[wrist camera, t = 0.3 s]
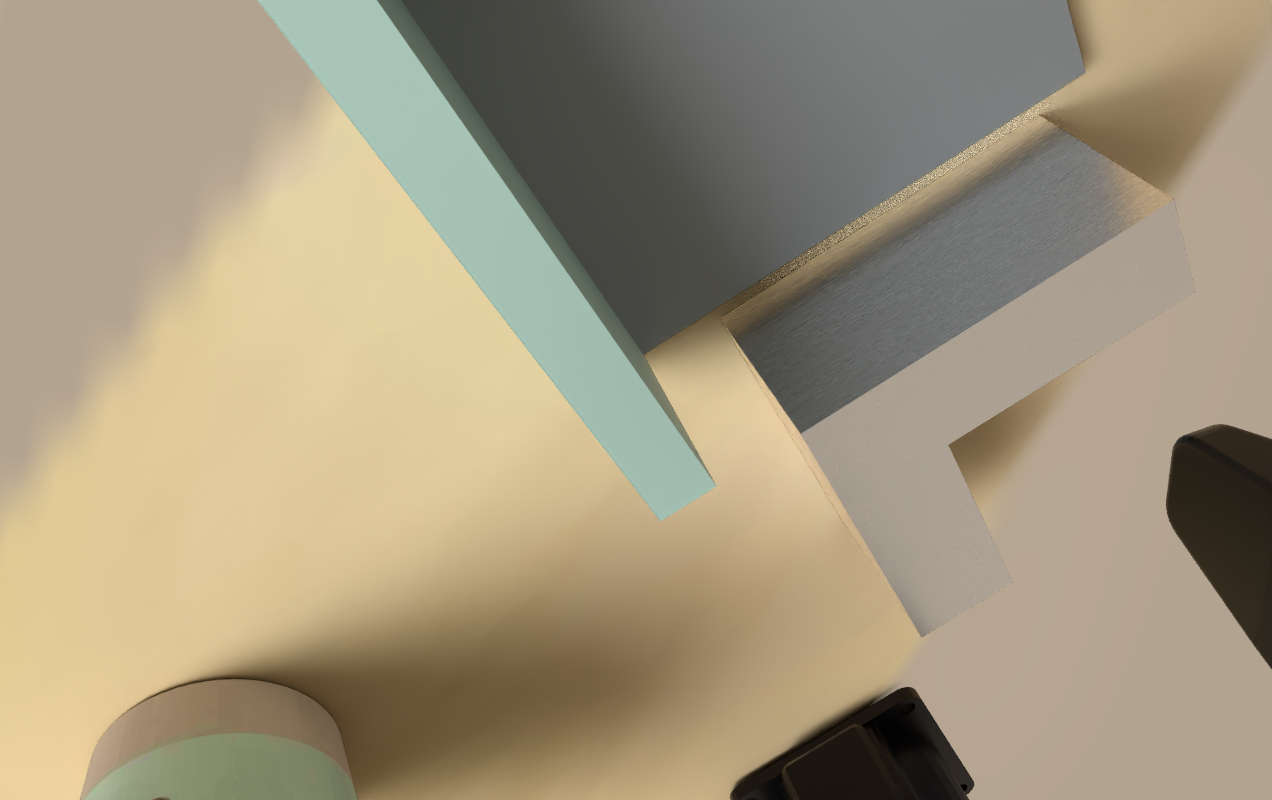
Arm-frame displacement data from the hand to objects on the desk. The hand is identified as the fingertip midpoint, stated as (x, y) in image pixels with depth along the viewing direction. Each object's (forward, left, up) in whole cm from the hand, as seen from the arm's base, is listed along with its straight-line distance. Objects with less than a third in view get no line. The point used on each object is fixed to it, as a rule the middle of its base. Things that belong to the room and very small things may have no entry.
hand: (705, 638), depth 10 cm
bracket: (-11, -6, -14) cm, 19 cm away
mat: (-1, -6, -14) cm, 15 cm away
